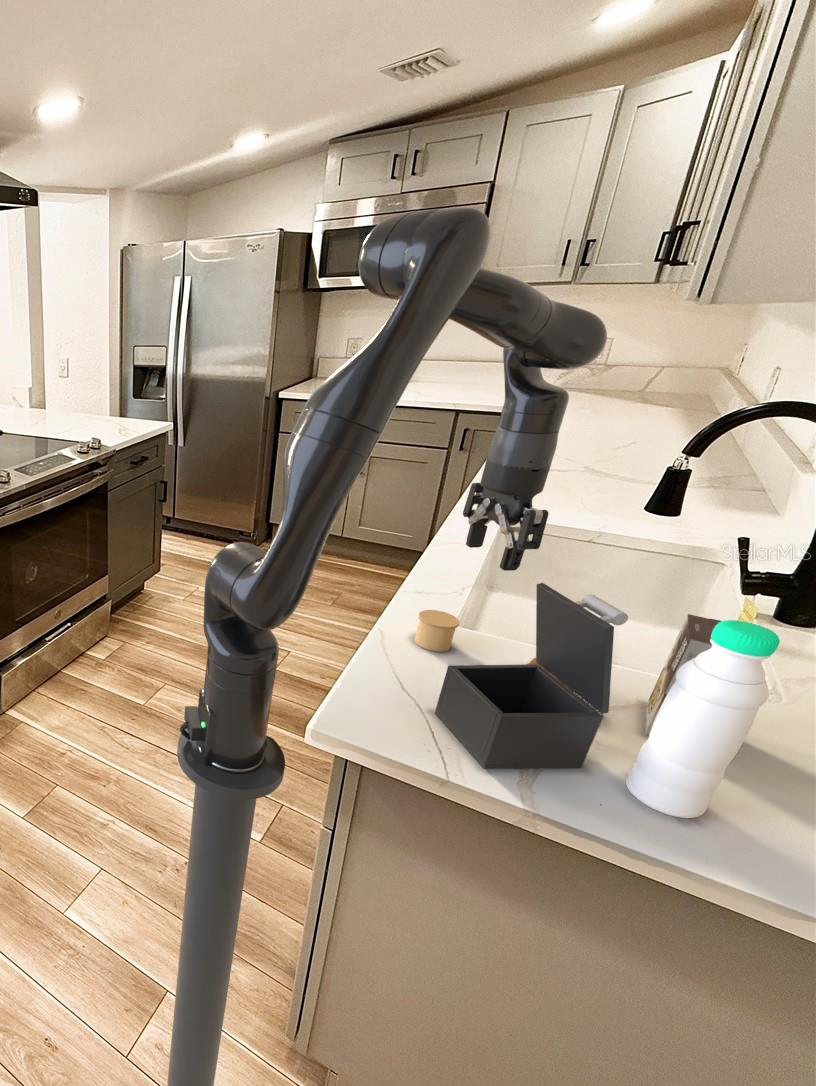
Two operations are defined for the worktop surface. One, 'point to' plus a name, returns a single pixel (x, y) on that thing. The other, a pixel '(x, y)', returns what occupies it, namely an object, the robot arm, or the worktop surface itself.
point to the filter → (436, 630)
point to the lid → (577, 643)
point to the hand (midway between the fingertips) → (490, 557)
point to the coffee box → (680, 660)
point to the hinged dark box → (516, 716)
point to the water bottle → (703, 721)
